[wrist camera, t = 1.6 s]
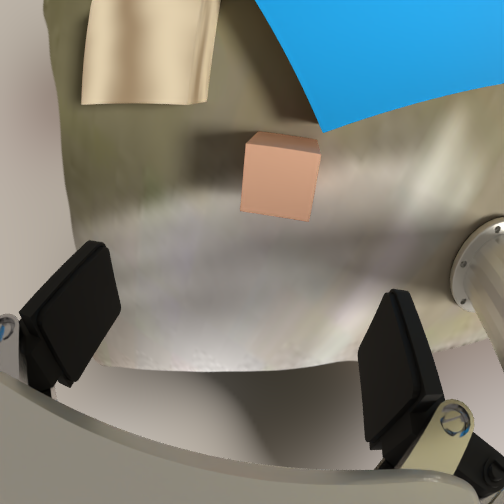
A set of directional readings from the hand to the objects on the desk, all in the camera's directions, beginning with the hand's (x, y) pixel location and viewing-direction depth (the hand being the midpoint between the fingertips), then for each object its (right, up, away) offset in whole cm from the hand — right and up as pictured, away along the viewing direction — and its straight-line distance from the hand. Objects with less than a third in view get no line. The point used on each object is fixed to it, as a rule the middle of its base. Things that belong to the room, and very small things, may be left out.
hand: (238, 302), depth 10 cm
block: (+3, +9, +16) cm, 18 cm away
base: (-8, +20, +11) cm, 24 cm away
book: (+14, +23, +6) cm, 27 cm away
